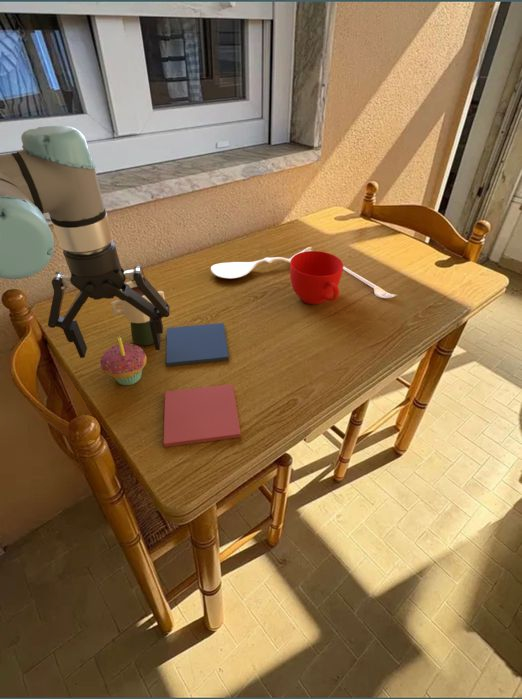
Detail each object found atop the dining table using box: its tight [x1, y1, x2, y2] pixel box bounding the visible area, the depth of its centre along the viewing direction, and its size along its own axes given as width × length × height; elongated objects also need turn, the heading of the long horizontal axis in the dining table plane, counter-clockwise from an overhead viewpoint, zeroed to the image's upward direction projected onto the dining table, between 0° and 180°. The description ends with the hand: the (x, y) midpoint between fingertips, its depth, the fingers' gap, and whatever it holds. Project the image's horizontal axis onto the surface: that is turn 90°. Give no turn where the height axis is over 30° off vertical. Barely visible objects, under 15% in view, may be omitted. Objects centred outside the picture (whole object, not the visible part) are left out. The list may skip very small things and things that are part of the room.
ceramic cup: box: [289, 250, 344, 305], centre depth 95 cm, size 13×17×10 cm
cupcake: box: [99, 335, 148, 386], centre depth 73 cm, size 9×8×12 cm
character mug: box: [110, 281, 166, 346], centre depth 82 cm, size 11×7×13 cm, turn 115°
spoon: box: [210, 246, 314, 280], centre depth 109 cm, size 9×32×4 cm, turn 108°
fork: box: [343, 266, 397, 299], centre depth 104 cm, size 3×20×2 cm, turn 32°
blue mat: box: [165, 322, 230, 367], centre depth 84 cm, size 13×12×1 cm
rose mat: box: [163, 383, 242, 448], centre depth 69 cm, size 13×12×1 cm
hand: (121, 349), depth 72 cm, fingers open, 13 cm apart
